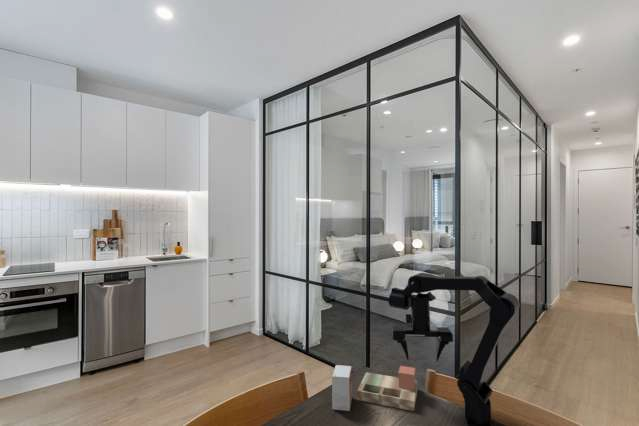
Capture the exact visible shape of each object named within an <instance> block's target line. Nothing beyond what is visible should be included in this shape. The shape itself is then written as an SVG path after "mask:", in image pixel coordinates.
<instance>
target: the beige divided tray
mask: <svg viewBox="0 0 639 426" xmlns="http://www.w3.org/2000/svg"><path fill="white" fill-rule="evenodd" d="M356 396H357V397H356V399H357V401H361V402H366V403H367V402H368V403H372V404H376V405H383V406H387V407H392V408H397V409H402V410H407V411H412V412H414V411H415V409H416V400H417V396H418V380H416V379H415V389H414V390H410V389H404V388H399V376H397V377H396V376H391V375H384V374H379V373H373V372H365V373H364V376H363V378H362V380H361V382H360V384H359V386H358V389H357V392H356Z"/></svg>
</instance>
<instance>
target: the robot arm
mask: <svg viewBox="0 0 639 426" xmlns="http://www.w3.org/2000/svg"><path fill="white" fill-rule="evenodd" d="M390 290H391V292H390V293H389V295H388V296H389V297H388V304H389V307H390V308H394V309H400V310H405V311H408V310H409V309H410V308H411V314H408V313H405V314H404V315H405V324H406V325H410V328H411V329H405V327H404V325H403V326H400V325H398V326H397V325H394V326H392V327H391V335H392V340H394V341H396V343H399V344H400V346H401V347H402V349H403V352H404V354H405V357H406V360H407V361H409V358H410V357H409V352H408V350H409V349H408V345H407V339H406V337H420V338H421V337H422V338H424V337H425V338H426V337H427V338H435V339H436V340H435V341H436V344H435V360H436V361H435V362H438V361H439V360H440V359H439V358H440V356H441V354H442V351H443V350H444V348H446V345H449V344H450V343H453V342H454V335H453V332H452V331H451V329H450V328H448V327H443V326H442V327H436V330H431V313H430V312H431V311H430V302H433V301H434V300H436V298H437V297H436V296H435V295H434V294H432V291H438V290H439V291H445V290H446V291H474V292H475V293H476V294H478V295H479V297H480V298H481V299H482V300H483V302H484V303H485V304H486V305H487V306H489V307H490V310H489V316H488V323H487V326H486V328H485V330H484V333H483V335H482V337H481V340H480V341H479V344H478V346H477V349H476V351H475V353H474V356H473V358H472V360H471V361H469V360H466V361H465V362H464V364H462V365H461V367H460V368H459V369H460V370H459V374H458V375H457V376H456V377H455V379H456V380H457V383H456V385H457V387H458V390H459V391H460V393H461V394H462V397H463V409H464V410H463V411H464V413H463V414H464V419H466V425H468V426H471V425H472V426H493V425H492V405H491V400H490V398H491V397H492V394H493V392H494V391H493V389H492V388H491V386H490V385H489V384H488V383H487V382H486V377H487V368H488V367H487V366H488V365H489V363H490V360H491V358H492V356H493V353H494V351H495V350H496V347H497V345H498V342H499V340H500V338H501V337H502V335H503V332H504V329H505V327H506V326H507V325H508V323H510V321H511V320H512V319H513V317H515V314H516V313H517V312H518V311H519V309H520V306H521V304H520V301H519V299H518V298H517V296H515V295H514V294H512V293H508V292H506V291H505V290H504V289H503V288H502V287H500V286H498V285H496V284H495V283H493V282H491V281H490V280H489V279H488V278H486V276H484V275H477V276H439V275H435V274H432V273H427V272H420V273H416V274H414V275H411V276H410V277H409V278H408V281H407V285H406V286H405V288H399V287H391V289H390ZM414 293H415V294H414Z"/></svg>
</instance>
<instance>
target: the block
mask: <svg viewBox="0 0 639 426" xmlns="http://www.w3.org/2000/svg"><path fill="white" fill-rule="evenodd" d="M398 378H399V388H404V389H410V390H414V389H415V380H416V367H410V366H405V365H404V366H403V365H400V366H399V369H398Z"/></svg>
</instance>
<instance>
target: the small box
mask: <svg viewBox="0 0 639 426" xmlns="http://www.w3.org/2000/svg"><path fill="white" fill-rule="evenodd" d="M333 369H334V370H333V373H332V375H331V384H332V385H331V392H332V393H331V395H332V398H331V402H332V407H331V408H332V410H336V411H346V412H350V411H351V405H352V401H353V400H352V399H353V379H352V378H353V371H352V369H353V366H352V365H351V366H350V365H341V364H336V365H335V367H334V368H333Z"/></svg>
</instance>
